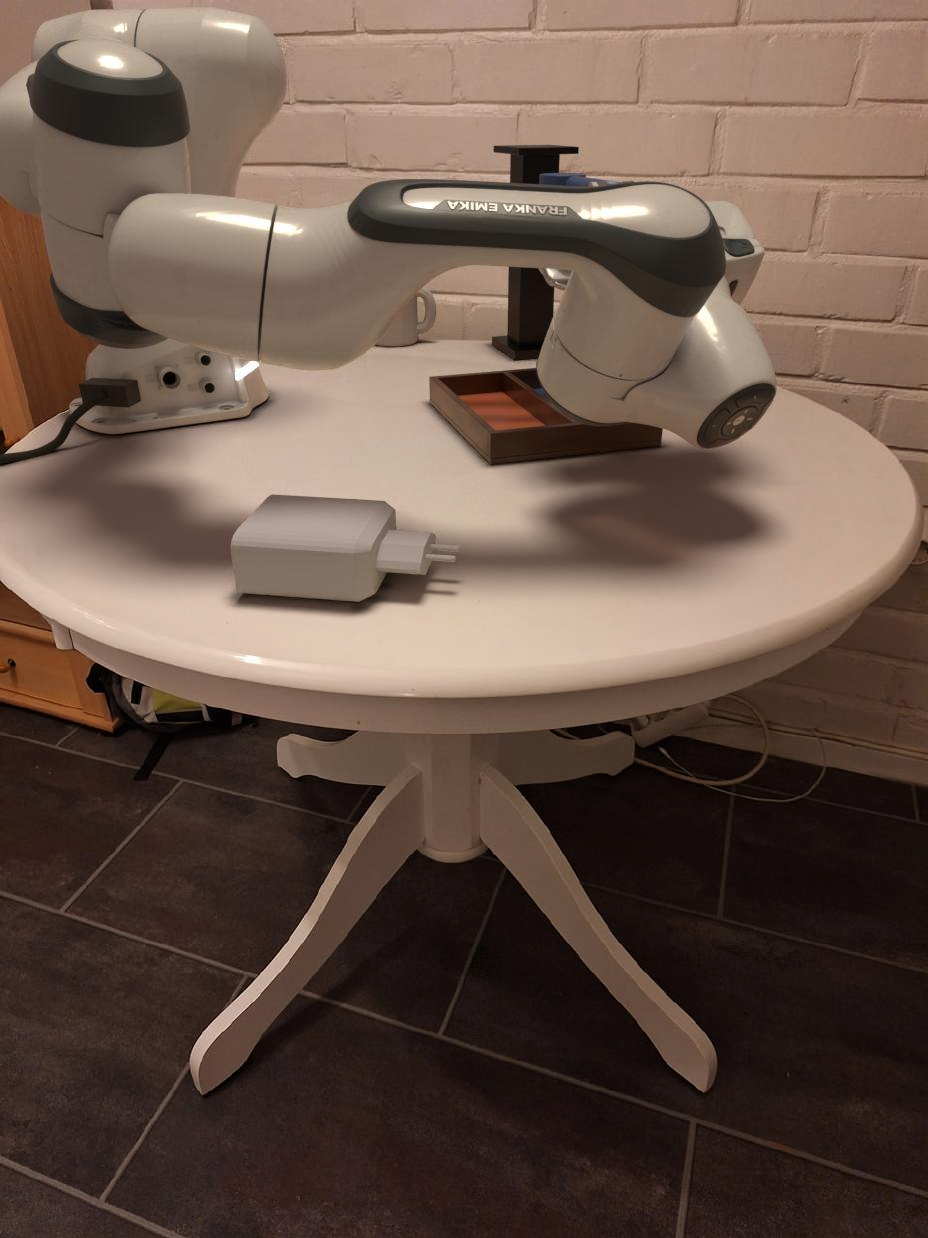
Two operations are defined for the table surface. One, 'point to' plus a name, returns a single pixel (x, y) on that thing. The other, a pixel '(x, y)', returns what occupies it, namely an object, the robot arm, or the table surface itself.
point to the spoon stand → (528, 285)
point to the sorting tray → (524, 419)
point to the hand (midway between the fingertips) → (611, 187)
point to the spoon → (570, 179)
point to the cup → (410, 322)
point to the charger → (326, 548)
